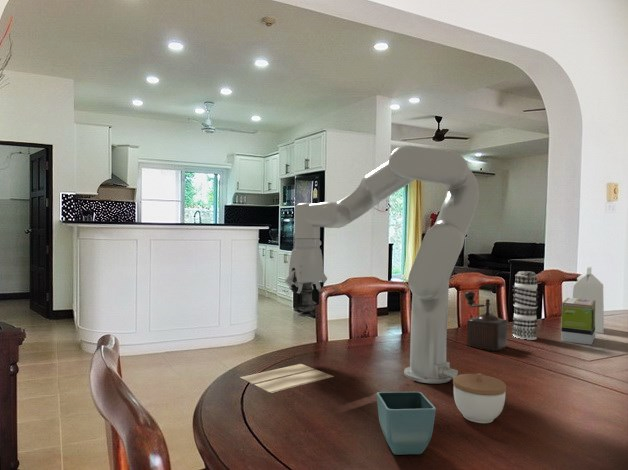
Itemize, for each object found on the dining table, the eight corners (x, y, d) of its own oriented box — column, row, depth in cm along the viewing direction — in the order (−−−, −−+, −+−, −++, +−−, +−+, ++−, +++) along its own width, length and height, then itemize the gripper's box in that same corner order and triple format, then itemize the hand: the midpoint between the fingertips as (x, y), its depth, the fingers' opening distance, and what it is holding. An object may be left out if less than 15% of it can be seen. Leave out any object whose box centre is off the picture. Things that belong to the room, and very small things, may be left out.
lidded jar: (476, 431, 91) (478, 384, 91) (441, 411, 101) (442, 369, 101) (516, 423, 96) (518, 378, 96) (479, 405, 105) (480, 364, 105)
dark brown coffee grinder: (508, 346, 161) (509, 294, 160) (496, 352, 152) (497, 298, 152) (465, 338, 171) (467, 290, 171) (452, 343, 163) (453, 292, 163)
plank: (333, 380, 120) (333, 376, 120) (270, 397, 107) (270, 392, 107) (316, 373, 125) (316, 369, 125) (254, 388, 112) (254, 384, 112)
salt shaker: (314, 317, 133) (314, 275, 133) (294, 316, 134) (294, 275, 134) (318, 313, 139) (318, 273, 139) (299, 312, 140) (299, 273, 140)
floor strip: (315, 373, 125) (315, 369, 125) (253, 389, 112) (253, 383, 112) (300, 367, 130) (300, 363, 130) (239, 382, 117) (239, 377, 117)
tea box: (566, 334, 183) (567, 296, 182) (595, 338, 177) (596, 299, 176) (560, 341, 170) (561, 301, 170) (591, 345, 164) (593, 304, 164)
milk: (603, 333, 185) (605, 269, 184) (570, 329, 191) (572, 267, 191) (603, 328, 195) (605, 267, 194) (572, 324, 201) (574, 265, 201)
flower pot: (374, 437, 88) (375, 391, 87) (419, 437, 88) (421, 390, 88) (385, 461, 79) (387, 409, 79) (435, 460, 80) (437, 409, 79)
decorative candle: (508, 333, 180) (510, 270, 180) (533, 335, 179) (534, 271, 179) (515, 339, 171) (517, 272, 171) (541, 340, 170) (543, 273, 169)
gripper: (320, 244, 145) (320, 301, 145) (276, 244, 134) (275, 306, 134) (336, 244, 139) (336, 304, 139) (291, 245, 128) (291, 310, 128)
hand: (306, 304), depth 136 cm, fingers closed on salt shaker, 5 cm apart
